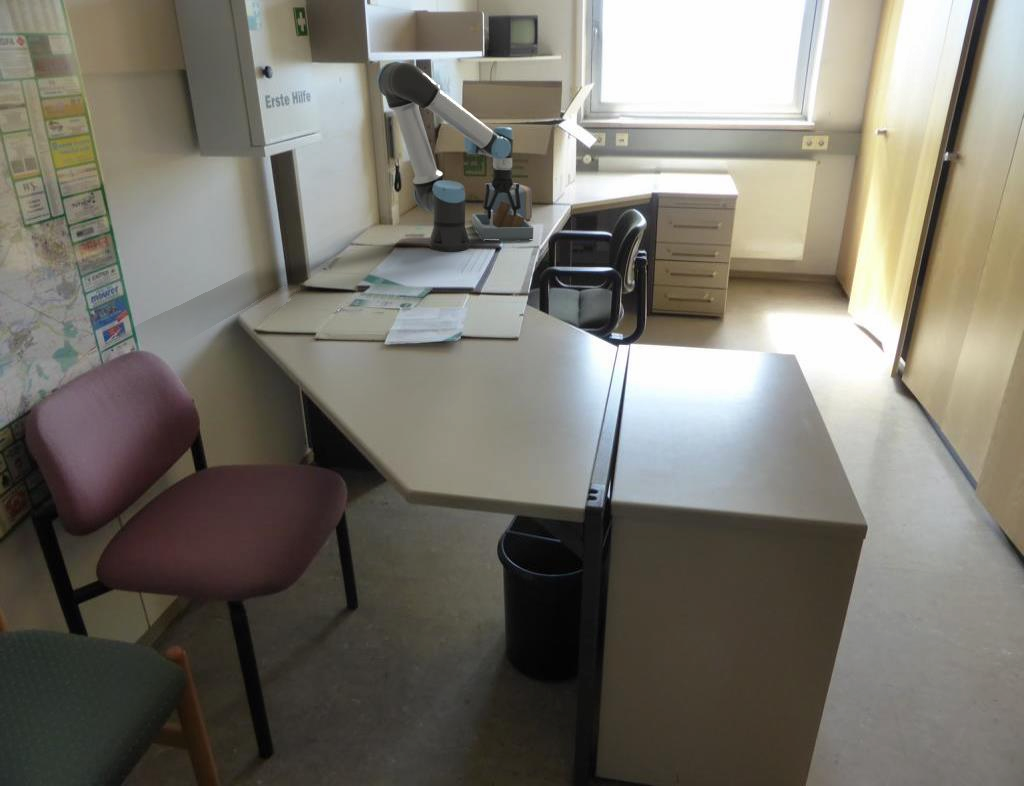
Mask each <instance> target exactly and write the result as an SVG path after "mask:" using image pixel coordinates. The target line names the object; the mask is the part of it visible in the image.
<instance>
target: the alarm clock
mask: <svg viewBox="0 0 1024 786" xmlns="http://www.w3.org/2000/svg"><path fill="white" fill-rule="evenodd" d="M518 184H519V197H520V206H521V208H520V209H517V210H516V213H519V214H520V215H521V216H522V217H523V218H525V220H526V221H529V220H531V219H532V218H533V204H532V201H533V198H532V189H531V188H530V187H529V186H526V185H525V184H524V185H523V184H521V183H518ZM494 190H495V189H494V187H493V186H491V189H490V192H489V198H488V204H487V206H488V205H489V203H490V200H491V198H492V195H493V193H494ZM510 193H511V196H512V199H513V201H514V204H515V206H516V198H515V189H514V188H513V186H512V187H511V188H510ZM501 200H502V201H505V202H507V203H509V204H510V201H509V199H508V196H507V194H506V193H503V192H502V193H498V195H497V197H496V199H495V202H494V204H493V207H492V209H491V210H492V211H493V214H496V212H497V209H498V207H499V205H500V202H501ZM510 210H512V206H511V205H510V208H509V210H508V212H507V214H508V213H509V214H510ZM483 212H484V213H483V214H487V210H486V209H484V211H483Z"/></svg>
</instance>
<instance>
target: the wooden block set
mask: <svg viewBox="0 0 1024 786" xmlns="http://www.w3.org/2000/svg"><path fill="white" fill-rule="evenodd" d="M510 205H511V204H509V203H507V202H505V201H502V200H501V202H500V205H499V207H498V209H497V212H496V214H495V216H494V219H493V225H494V226H496V227H499V228H501V227H502V228H503V227H521V226H522V224H523V222H524V219H525V218H523V217H521V216H519V215H515V216H514V215H511V214H509V213H508V214H507V212H508V210H509V208H510Z"/></svg>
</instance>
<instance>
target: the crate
mask: <svg viewBox="0 0 1024 786" xmlns="http://www.w3.org/2000/svg"><path fill="white" fill-rule="evenodd" d="M516 215H519V216H521V215H520V214H519V213H516ZM494 216H495V214H493V219H494ZM521 217H522V216H521ZM471 227H472V228H473V230H474V231H475V230H476V231H477V232H478V234H479V235H480V236H481V238H482V239H483V240H484V239H499V240H502V241H501V242H507V241H509V242H510V241H514V242H515V241H516V240H520V241H530V240H529V239H533V240H534V226H533V225H531V224H530V223H529V222H528V220H525V219H524V222H523V224H522V226H521V227H503V228H502V227H501V228H499V227H496V226H494V225H493V227H490V219H488V217H487V214H484V213H472V215H471ZM476 231H475V232H476ZM477 232H476V233H477ZM478 234H477V235H478ZM479 235H478V236H479ZM480 236H479V237H480ZM481 238H480V239H481ZM482 239H481V240H482Z"/></svg>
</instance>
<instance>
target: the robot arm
mask: <svg viewBox="0 0 1024 786" xmlns="http://www.w3.org/2000/svg"><path fill="white" fill-rule="evenodd" d="M376 84H377V87H378V90H379V92H380V93H381V94H382V95H383V96H385V100H386V103H387V105H388V109H390V110H392V111H393V112H394V114H395V116H396V119H397V122H398V123H397V124H398V126H399V129H400V132H401V135H402V138H403V141H404V144H405V149H406V150H407V151H406V152H407V155H408V157H409V161H410V163H411V164H410V165H411V167H412V170H413V173H414V177H413V180H412V183H413V186H414V189H413V197H414V198H413V199H414V201H415V203H416V204H417V205H418V206H419V207H420V208H422V210H424V211H427V212H430V213H433V228H432V231H431V234H430V237H429V241H428V242H429V246H428V247H429V248H430V249H431V250H435V251H438V252H439V251H440V252H459V251H460V252H461V251H466V250H467V249H469V248H470V247H471V246H470V244H471V243H470V238H469V235H468V231H467V227H466V190H465V186H464V184H462V183H461V182H458V181H454V180H450V179H446V180H445V177H444V173H443V172H442V171H440V170H439V169H438V168H437V164H436V160H435V158H434V154H433V151H432V148H431V144H430V141H429V138H428V134H427V131H426V128H425V124H424V120H423V119H422V114H421V111H420V108H421V109H423V110H426V109H428V110H429V111H430V112H432V113H433V114H435V115H436V116H437V117H438V118H440V119H441V120H443V121H444V122H445V123H447V124H448V125H449V126H451V127H452V128H453V129H454V130H456V131H457V132H458V133H460V134H461V135H462V136H463V137H464V141H463V143H464V150H465V152H466V153H467V154H469V155H483V156H485V157H490V158H492V162H493V163H492V167H493V169H492V181H491V182H489V183H487V182H485V184H484V186H485V192H484V199H483V204H482V208H483V209H484V210H485V209H486V210H487V217H488V219H490V227H493V211H492V210H491V209H492V207H493V204H494V202H495V199H496V197H497V195H498V193H502V192H503V193H506V194H507V196H508V199H509V201H510V204H511V206H512V210H510V214H511V215H514V216H515V215H516V210H517V209H520V208H521V206H520V197H519V184H520V183H518V182H516V183H515V182H513V169H512V168H513V151H514V150H513V146H514V131H513V130H514V129H513V128H512V127H510V126H495V127H493V130H492V129H491V128H490V127H488V126H487V125H486V124H485V123H483V122H482V121H481V120H479V119H478V118H477V117H475V116H474V115H473V114H472V113H471V112H469V111H468V110H467V109H465V108H464V107H463V106H462V105H461V104H459V103H458V102H457V101H456V100H455V99H453V98H452V97H450V95H448V94H446V93H445V92H444V91H443V90H442V89H441V87H440V84H439V83H438V82H436V81H435V80H434V79H433V78H432V77H430V76H429V75H428V74H427V73H425V72H424V71H423V70H422V69H421V68H419V67H418V66H416V65H414V64H413V63H408V62H398V61H394V62H388V63H386V64H384V65H383V66H382V67H381V68H380V70H379V71H378V73H377V77H376ZM419 107H420V108H419ZM512 186H513V188H514V189H515V198H516V206H515V204H514V201H513V199H512V196H511V193H510V188H511V187H512ZM491 187H494V189H495V190H494V193H493V195H492V198H491V200H490V203H489V205H488V206H487V204H488V198H489V192H490V189H491Z"/></svg>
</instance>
